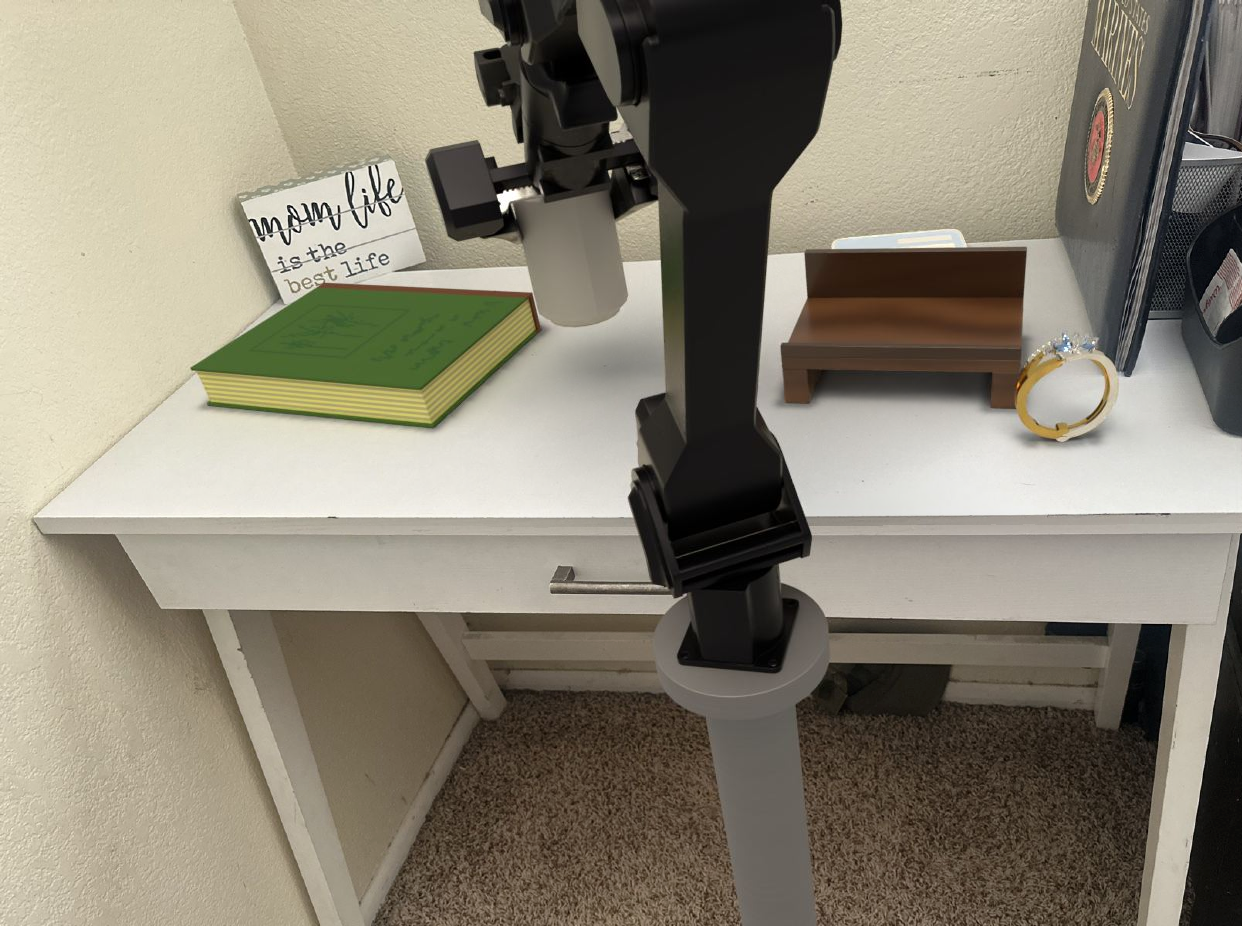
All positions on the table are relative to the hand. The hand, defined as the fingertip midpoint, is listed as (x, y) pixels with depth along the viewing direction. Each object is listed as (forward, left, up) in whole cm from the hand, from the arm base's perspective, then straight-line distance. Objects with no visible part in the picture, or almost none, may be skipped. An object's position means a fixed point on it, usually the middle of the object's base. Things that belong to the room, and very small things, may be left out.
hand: (565, 228), depth 81 cm
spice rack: (+2, -27, -13) cm, 30 cm away
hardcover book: (+1, +22, -13) cm, 26 cm away
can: (-1, -1, -7) cm, 7 cm away
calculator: (+19, -25, -13) cm, 34 cm away
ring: (-8, -39, -13) cm, 42 cm away
